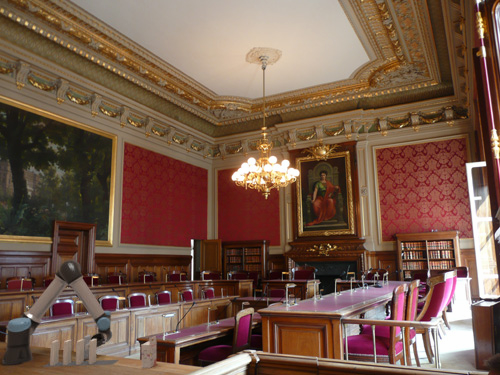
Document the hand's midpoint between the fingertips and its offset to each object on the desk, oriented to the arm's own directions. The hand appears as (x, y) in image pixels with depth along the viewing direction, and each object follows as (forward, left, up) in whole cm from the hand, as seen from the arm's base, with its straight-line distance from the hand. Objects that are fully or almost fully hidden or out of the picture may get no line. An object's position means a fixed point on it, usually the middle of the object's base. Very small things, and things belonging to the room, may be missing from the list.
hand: (83, 347), depth 235 cm
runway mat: (+1, -4, -8) cm, 9 cm away
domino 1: (-14, -4, -7) cm, 16 cm away
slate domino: (0, +6, -7) cm, 9 cm away
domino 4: (+7, -4, -7) cm, 11 cm away
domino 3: (0, -4, -7) cm, 8 cm away
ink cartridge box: (+40, -13, -8) cm, 43 cm away
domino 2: (-7, -4, -7) cm, 11 cm away
